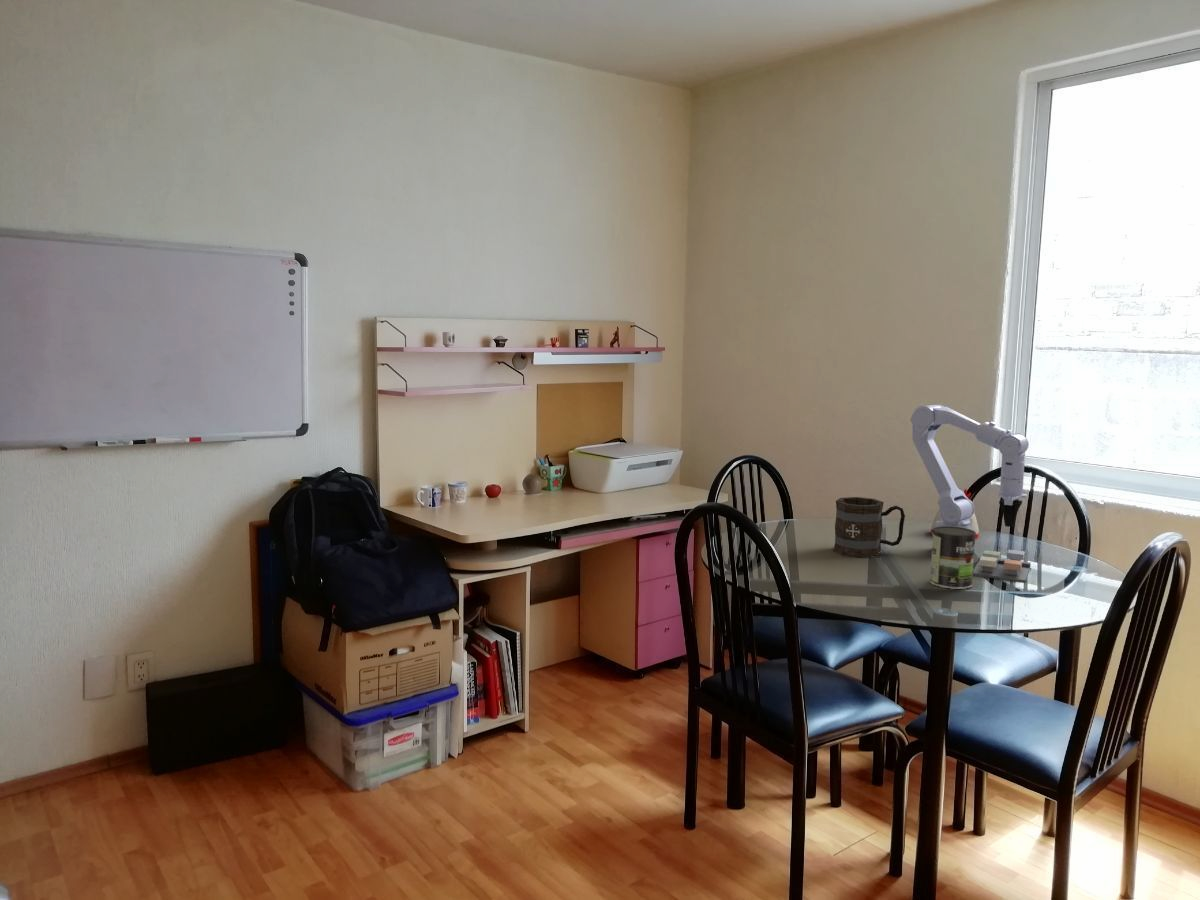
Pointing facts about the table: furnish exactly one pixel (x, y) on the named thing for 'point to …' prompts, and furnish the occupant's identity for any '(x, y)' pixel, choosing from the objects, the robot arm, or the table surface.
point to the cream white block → (992, 554)
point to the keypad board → (1003, 571)
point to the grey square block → (1015, 555)
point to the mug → (861, 526)
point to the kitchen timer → (972, 519)
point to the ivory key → (988, 563)
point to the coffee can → (952, 557)
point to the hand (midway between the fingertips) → (1009, 526)
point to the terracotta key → (1012, 566)
